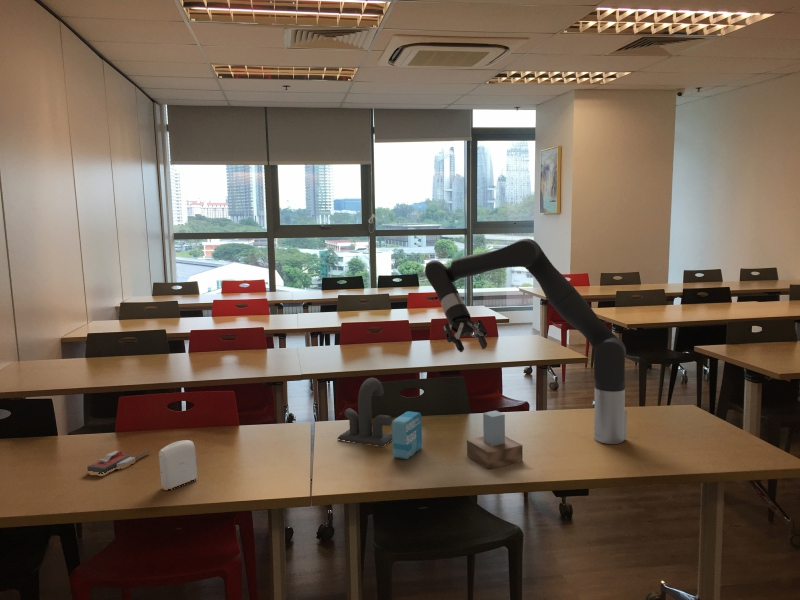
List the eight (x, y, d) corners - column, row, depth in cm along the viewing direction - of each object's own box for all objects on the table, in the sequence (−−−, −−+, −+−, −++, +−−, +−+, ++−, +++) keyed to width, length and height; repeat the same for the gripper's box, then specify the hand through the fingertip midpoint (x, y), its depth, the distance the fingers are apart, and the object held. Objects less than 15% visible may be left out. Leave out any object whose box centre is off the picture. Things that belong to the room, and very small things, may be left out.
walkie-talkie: (106, 480, 182) (153, 455, 200) (105, 466, 181) (152, 442, 200) (82, 477, 184) (131, 452, 203) (81, 463, 184) (129, 439, 202)
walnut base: (499, 448, 196) (499, 433, 196) (522, 461, 185) (522, 445, 185) (467, 455, 191) (466, 439, 191) (488, 469, 180) (488, 452, 180)
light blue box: (405, 461, 188) (404, 422, 187) (392, 458, 190) (391, 421, 189) (422, 447, 199) (421, 411, 197) (409, 445, 201) (408, 409, 200)
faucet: (405, 431, 214) (403, 375, 212) (385, 447, 200) (383, 387, 198) (359, 425, 222) (357, 371, 219) (336, 440, 208) (334, 382, 205)
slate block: (496, 438, 191) (495, 410, 190) (504, 443, 187) (504, 414, 186) (483, 441, 189) (483, 412, 188) (492, 446, 185) (491, 417, 184)
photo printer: (166, 492, 171) (163, 449, 170) (158, 488, 174) (155, 446, 172) (200, 480, 179) (196, 438, 177) (191, 476, 182) (188, 435, 180)
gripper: (440, 304, 203) (458, 345, 194) (477, 301, 209) (496, 340, 200) (432, 318, 208) (450, 358, 199) (469, 314, 214) (488, 353, 205)
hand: (473, 349), depth 200 cm, fingers open, 8 cm apart
